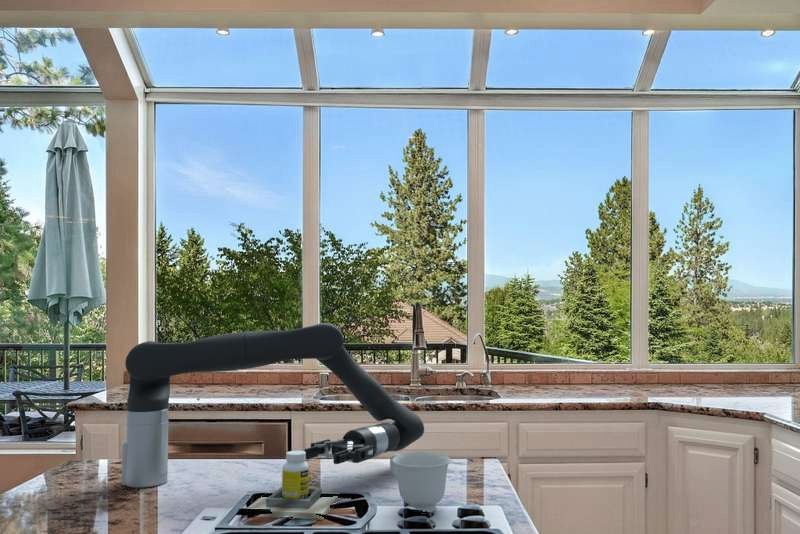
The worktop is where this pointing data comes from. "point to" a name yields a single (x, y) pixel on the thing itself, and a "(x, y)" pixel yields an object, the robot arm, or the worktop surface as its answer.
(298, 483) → the supplement bottle
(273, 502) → the seat board
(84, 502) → the worktop surface
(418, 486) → the teacup
